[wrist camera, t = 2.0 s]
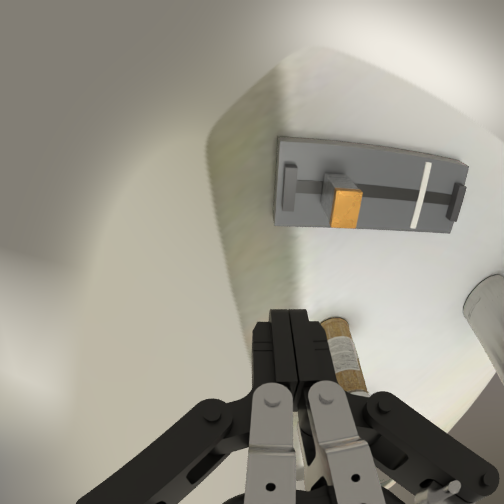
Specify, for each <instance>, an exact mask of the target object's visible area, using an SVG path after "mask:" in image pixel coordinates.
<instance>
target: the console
mask: <svg viewBox="0 0 504 504" xmlns="http://www.w3.org/2000/svg"><path fill="white" fill-rule="evenodd" d="M468 168H469V166H467V165H466V164H464V163H462V162H461V161H459V160H454V159H450V158H445V157H440V156H435V155H430V154H425V153H420V152H414V151H408V150H402V149H396V148H390V147H383V146H376V145H368V144H360V143H352V142H343V141H333V140H322V139H309V138H295V137H278V143H277V161H276V178H275V194H274V210H273V219H274V226H296V227H327V228H332V227H331V226H330V224H329V220H328V218H327V216H326V214H325V212H324V210H323V208H322V206H321V198H322V190H323V182H324V174H325V173H333V174H345V175H347V176H348V177H349V178H350V179H351V181H352V182H353V183H354V184H355V185H356V186H357V188H358V189H359V190H361V191H362V192H363V194H362V199H361V205H360V210H359V215H358V220H357V225H356V228H353V229H377V230H397V231H416V232H433V233H450V232H451V229H452V226H453V223H454V222H457V219H458V215H459V212H460V209H461V205H462V202H463V198H464V195H465V191H466V186H464V185H465V181H466V177H467V173H468Z"/></svg>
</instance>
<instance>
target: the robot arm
mask: <svg viewBox="0 0 504 504" xmlns="http://www.w3.org/2000/svg"><path fill="white" fill-rule="evenodd" d="M463 313H464V316H465V318H466V320H467V321H468V323H469V324H470V326H471V328H472V329H473V331H474V333H475V334H476V336H477V338H478V339H479V341H480V343H481V345H482V346H483V348H484V350H485V352H486V353H487V355H488V357H489V359H490V361H491V362H492V364H493V366H494V368H495V370H496V372H497V374H498V375H499V378H500V380H501V381H502V383H503V385H504V277H503V276H501V275H494V276H491V277H489V278H487V279H485V280H484V281H482V282H481V283H480V284H479V285H478V286H477V287H476V288H475V289H474V290H473V291H472V293H471V294H470V295H469V297H468V299H467V300H466V303H465V305H464V309H463ZM329 349H330V348H329V344H328V340H327V336H326V331H325V329H324V328H323V327H322V326H321V324H320V323H319V322H318V321H309V319H308V314H307V311H306V309H288V310H287V309H270V312H269V322H257V324H256V326H255V328H254V330H253V336H252V390H251V392H250V393H249V394H248V395H247V396H245V397H244V398H242V399H240V400H237V401H233V402H229V403H225V402H223V401H221V400H219V399H206V400H203V401H201V402H199V403H198V404H197V405H195V407H193V408H192V409H191V410H190V411H189V412H188V413H187V414H185V415H184V416H183V417H182V418H181V419H180V420H179V421H177V422H176V423H175V424H174V425H173V426H172V427H170V428H169V429H168V430H167V431H166V432H165V433H164V434H162V435H161V436H160V437H159V438H157V439H156V440H155V441H154V442H153V443H151V444H150V445H149V446H148V447H147V448H146V449H144V450H143V451H142V452H141V453H139V454H138V455H137V456H136V457H134V458H133V459H132V460H131V461H129V462H128V463H127V464H125V465H124V466H123V467H122V468H120V469H119V470H118V471H117V472H115V473H114V474H113V475H112V476H110V477H109V478H107V479H106V480H105V481H103V482H102V483H101V484H99V485H98V486H97V487H95V488H94V489H93V490H91V491H90V492H89V493H87V494H86V495H84V496H83V497H82V498H80V499H79V500H78V501H77V502H76V504H178V503H179V502H180V501H181V500H182V499H183V498H184V497H186V496H187V495H188V494H189V493H190V492H191V491H192V490H193V489H195V488H196V486H198V485H199V484H200V483H201V482H202V481H203V480H204V479H205V478H206V477H207V476H208V475H209V474H210V473H211V472H212V471H213V470H215V469H216V468H217V467H218V466H219V465H220V464H221V462H223V461H224V459H226V458H227V457H228V456H229V455H230V453H231V452H233V451H237V450H240V449H244V448H247V447H249V450H248V463H247V474H246V487H245V493H243V494H241V495H237V496H235V497H233V498H231V499H229V500H227V501H226V502H224V503H223V504H405V503H404V502H403V501H401V500H400V499H399V498H398V497H396V496H395V495H394V494H393V493H392V492H390V491H389V490H387V489H386V488H384V487H382V486H381V485H380V481H379V478H378V475H377V471H376V468H375V466H376V467H377V468H379V469H380V470H381V471H382V472H384V473H385V474H386V475H388V476H389V477H390V478H392V479H393V480H394V481H396V482H397V483H398V484H400V485H401V486H403V487H404V488H405V489H406V490H408V491H409V492H411V493H412V494H413V495H415V499H414V504H475V503H476V502H477V501H479V500H481V499H483V498H485V497H487V496H489V495H491V494H492V493H493V492H494V491H495V490H496V488H497V487H498V484H499V473H498V471H497V469H496V468H495V467H494V466H493V465H491V464H490V463H489V462H487V461H486V460H484V459H483V458H481V457H480V456H478V455H477V454H475V453H474V452H472V451H471V450H470V449H468V448H467V447H465V446H464V445H462V444H461V443H460V442H458V441H457V440H455V439H454V438H453V437H451V436H450V435H448V434H447V433H446V432H444V431H443V430H441V429H440V428H439V427H437V426H436V425H434V424H433V423H432V422H430V421H429V420H427V419H426V418H425V417H423V416H422V415H421V414H419V413H418V412H416V411H415V410H414V409H412V408H411V407H410V406H408V405H407V404H406V403H404V402H403V401H401V400H400V399H399V398H397V397H396V396H395V395H393V394H391V393H389V392H385V391H380V392H376V393H374V394H373V395H371V396H370V397H364V396H359V395H354V394H351V393H348V392H347V391H345V390H344V389H343V388H342V387H341V386H340V385H339V383H338V381H337V378H336V374H335V370H334V365H333V361H332V357H331V352H330V350H329ZM296 411H298V418H299V421H298V424H297V431H298V436H299V442H300V447H301V452H302V457H303V463H304V484H305V490H306V491H302V490H296V454H295V450H294V448H293V412H296Z"/></svg>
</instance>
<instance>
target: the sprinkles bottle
mask: <svg viewBox="0 0 504 504" xmlns="http://www.w3.org/2000/svg"><path fill="white" fill-rule="evenodd" d="M321 326H322V327H323V328H324V329H325V331H326V336H327V340H328V344H329V348H330V349H329V350H330V352H331V357H332V361H333V365H334V370H335V374H336V378H337V381H338V383H339V385H340V386H341V387H342V388H343V389H344V390H345V391H347V392H348V393H351V394H354V395H359V396H364V397H370V395H369V394H368V391H367V388H366V385H365V381H364V377H363V374H362V370H361V366H360V363H359V358H358V354H357V351H356V348H355V344H354V342H353V340H352V337H351V334H350V331H349V325H348V323H347V322H346V321H345V320H343V319H341V318H332V319H328V320H326V321H324V322H323V323H321Z"/></svg>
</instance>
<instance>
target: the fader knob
mask: <svg viewBox="0 0 504 504" xmlns="http://www.w3.org/2000/svg"><path fill="white" fill-rule="evenodd" d="M362 194H363V192H362V191H361V190H359V189H358V188H357V186H356V185H355V184H354V183H353V182H352V181H351V179H350V178H349V177H348V176H347V175H345V174H333V173H325V174H324V182H323V190H322V198H321V206H322V208H323V210H324V212H325V214H326V216H327V218H328V220H329V224H330V226H331V227H332V228H356V225H357V220H358V215H359V210H360V205H361V199H362Z"/></svg>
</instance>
